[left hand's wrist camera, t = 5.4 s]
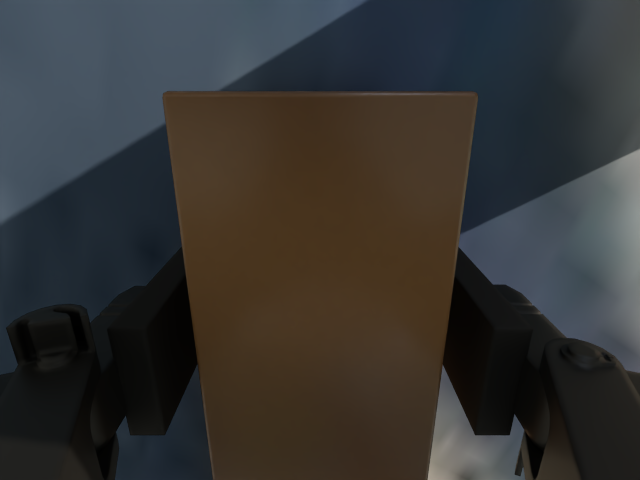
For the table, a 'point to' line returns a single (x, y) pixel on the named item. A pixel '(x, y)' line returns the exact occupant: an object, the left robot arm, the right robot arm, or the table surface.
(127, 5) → the table surface
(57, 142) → the table surface
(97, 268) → the table surface
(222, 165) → the beam
